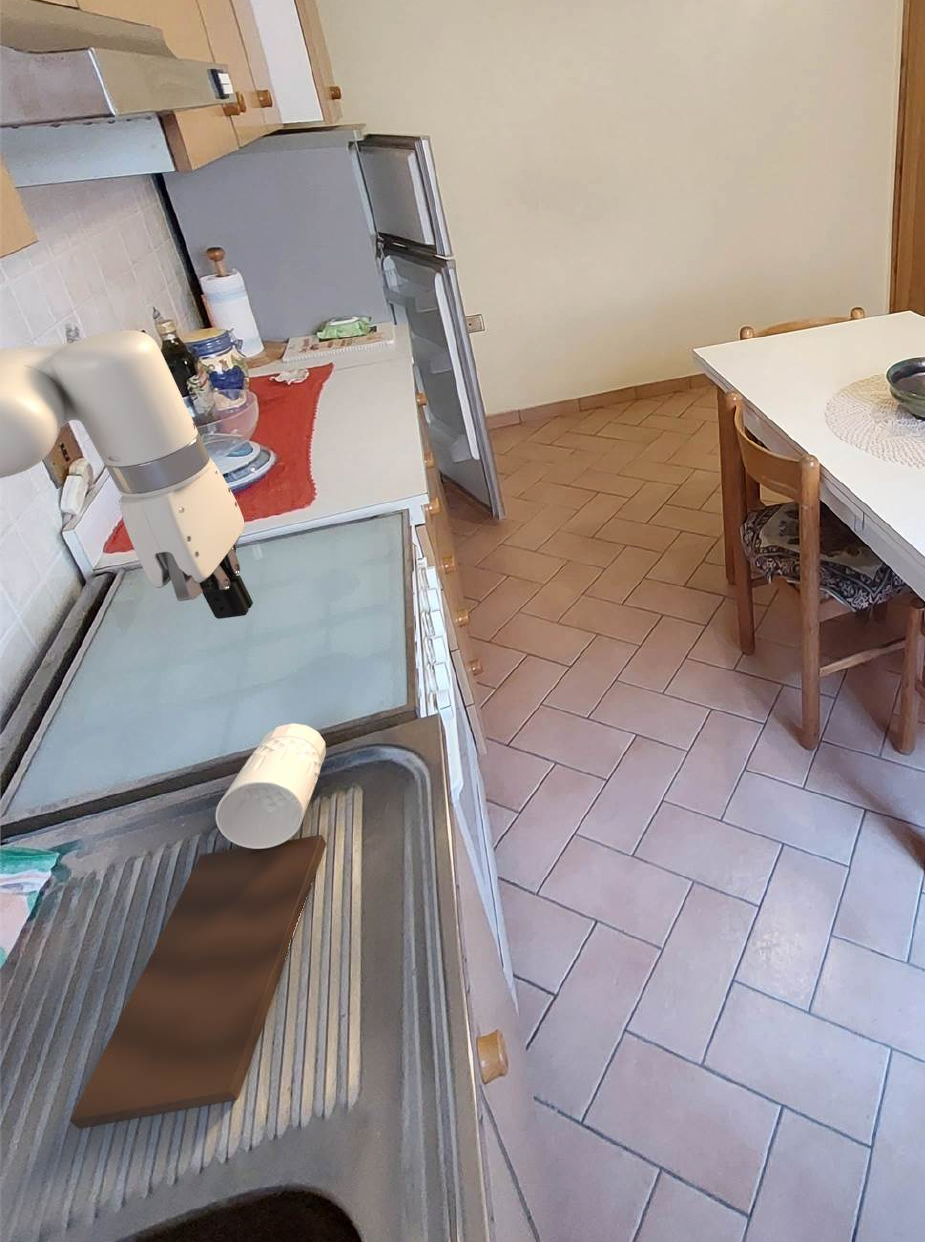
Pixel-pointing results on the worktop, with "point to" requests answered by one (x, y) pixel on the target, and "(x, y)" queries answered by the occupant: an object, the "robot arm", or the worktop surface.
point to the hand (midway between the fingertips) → (235, 611)
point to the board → (204, 986)
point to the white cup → (272, 788)
